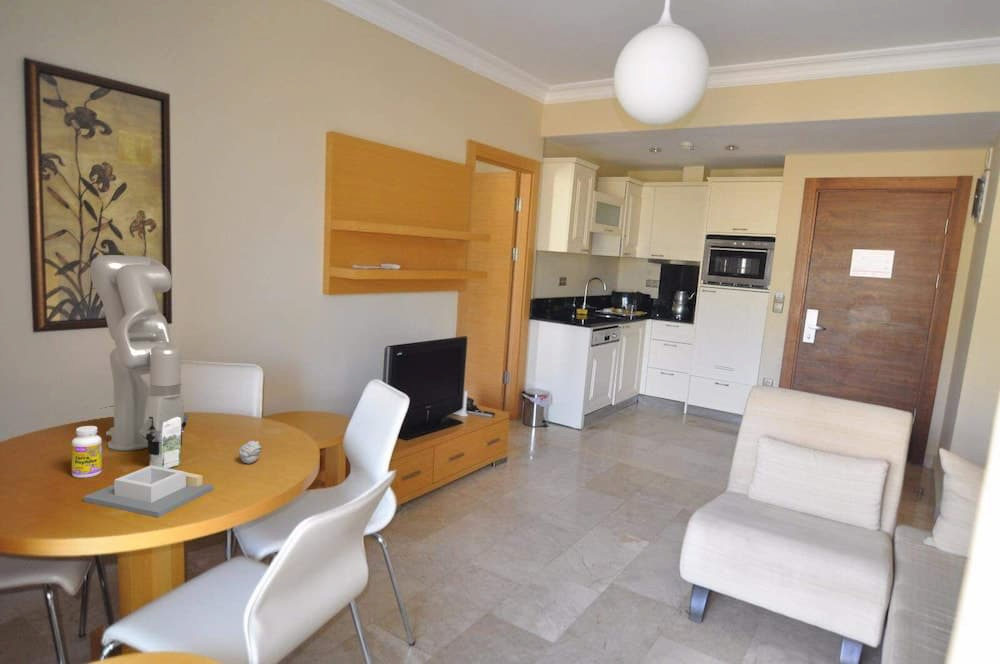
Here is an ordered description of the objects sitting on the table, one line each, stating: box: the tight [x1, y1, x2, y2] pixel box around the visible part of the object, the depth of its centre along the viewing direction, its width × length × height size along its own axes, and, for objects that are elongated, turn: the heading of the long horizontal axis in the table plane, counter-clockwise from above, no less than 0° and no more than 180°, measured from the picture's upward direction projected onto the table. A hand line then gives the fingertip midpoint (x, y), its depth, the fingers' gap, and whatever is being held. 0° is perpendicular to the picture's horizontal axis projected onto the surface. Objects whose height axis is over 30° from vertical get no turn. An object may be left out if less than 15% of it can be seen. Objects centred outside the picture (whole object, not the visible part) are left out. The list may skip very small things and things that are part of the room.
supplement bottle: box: [71, 425, 103, 479], centre depth 158 cm, size 7×7×13 cm
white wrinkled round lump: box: [238, 440, 263, 464], centre depth 175 cm, size 6×7×7 cm
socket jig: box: [83, 465, 214, 518], centre depth 149 cm, size 22×18×5 cm
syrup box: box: [148, 417, 182, 469], centre depth 167 cm, size 6×6×14 cm
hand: (165, 449), depth 168 cm, fingers open, 7 cm apart
